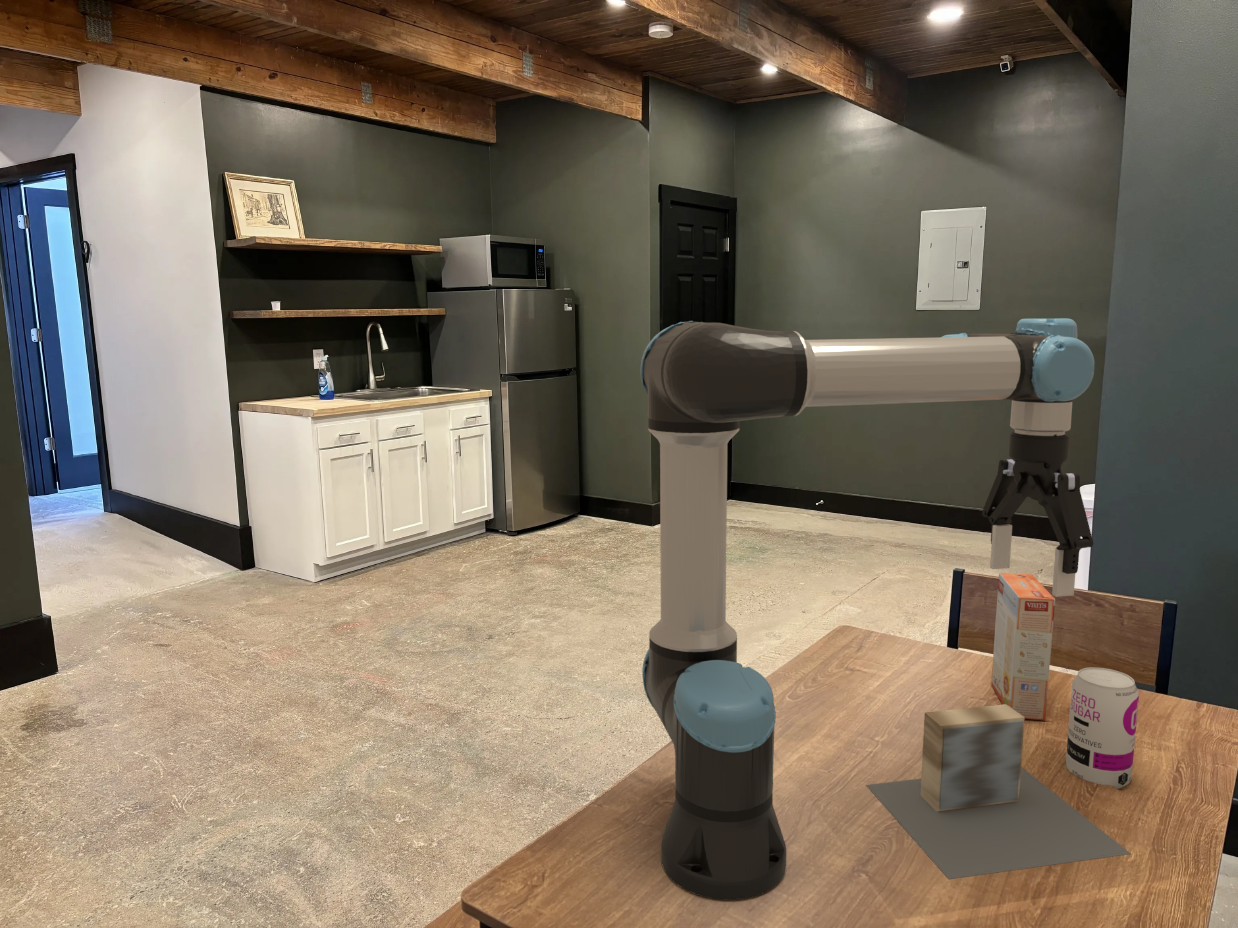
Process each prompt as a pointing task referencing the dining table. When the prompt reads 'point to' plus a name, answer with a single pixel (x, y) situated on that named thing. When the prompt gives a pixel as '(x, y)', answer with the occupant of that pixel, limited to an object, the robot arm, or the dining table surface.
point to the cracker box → (1022, 644)
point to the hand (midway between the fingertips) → (1029, 581)
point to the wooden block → (971, 757)
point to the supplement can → (1102, 726)
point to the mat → (997, 830)
